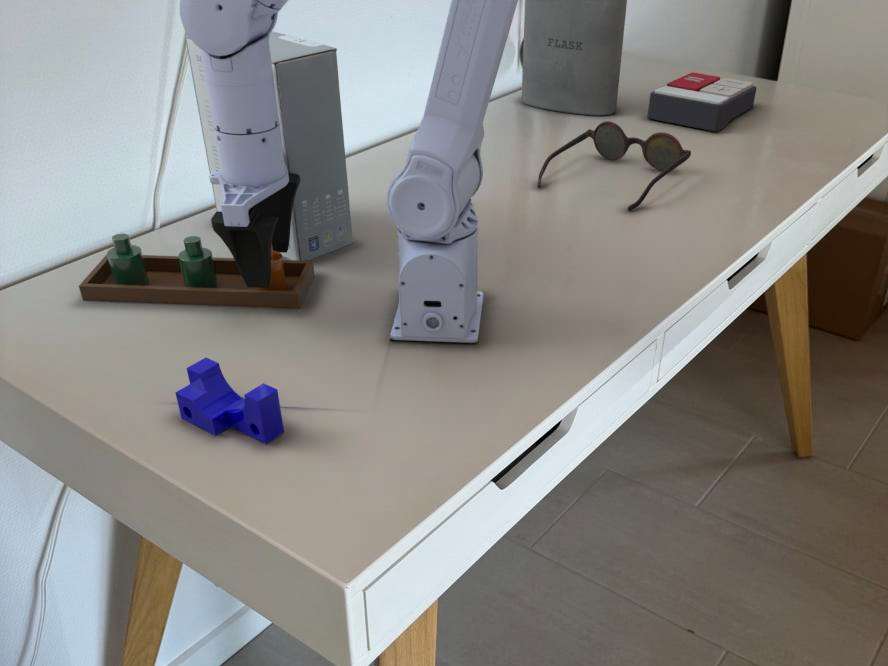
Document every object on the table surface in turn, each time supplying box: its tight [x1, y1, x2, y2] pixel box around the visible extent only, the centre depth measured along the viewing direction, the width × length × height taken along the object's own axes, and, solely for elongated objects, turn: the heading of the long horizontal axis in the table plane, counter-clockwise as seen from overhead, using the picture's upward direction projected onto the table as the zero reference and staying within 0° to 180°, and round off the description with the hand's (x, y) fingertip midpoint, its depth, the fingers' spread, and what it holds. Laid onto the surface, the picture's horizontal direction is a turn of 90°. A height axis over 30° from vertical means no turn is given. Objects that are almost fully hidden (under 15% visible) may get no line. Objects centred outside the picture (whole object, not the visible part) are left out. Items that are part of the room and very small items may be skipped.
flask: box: [521, 0, 628, 117], centre depth 131 cm, size 15×6×20 cm, turn 65°
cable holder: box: [174, 357, 285, 445], centre depth 71 cm, size 8×4×4 cm, turn 55°
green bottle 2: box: [177, 235, 218, 288], centre depth 88 cm, size 3×3×5 cm
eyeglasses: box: [537, 120, 692, 212], centre depth 112 cm, size 15×15×5 cm
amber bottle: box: [253, 244, 287, 291], centre depth 88 cm, size 3×3×5 cm
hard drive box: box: [185, 30, 354, 261], centre depth 94 cm, size 16×8×20 cm, turn 46°
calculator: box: [646, 72, 757, 132], centre depth 135 cm, size 11×4×15 cm
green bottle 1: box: [106, 233, 149, 286], centre depth 89 cm, size 3×3×5 cm
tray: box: [78, 254, 315, 310], centre depth 90 cm, size 7×21×2 cm, turn 86°
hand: (268, 267), depth 88 cm, fingers open, 7 cm apart
